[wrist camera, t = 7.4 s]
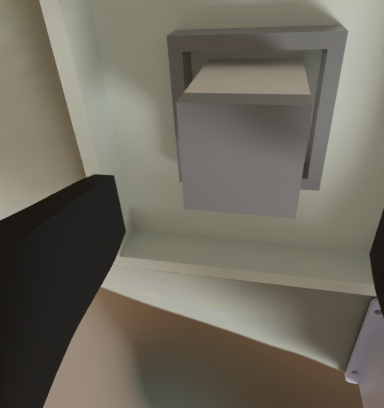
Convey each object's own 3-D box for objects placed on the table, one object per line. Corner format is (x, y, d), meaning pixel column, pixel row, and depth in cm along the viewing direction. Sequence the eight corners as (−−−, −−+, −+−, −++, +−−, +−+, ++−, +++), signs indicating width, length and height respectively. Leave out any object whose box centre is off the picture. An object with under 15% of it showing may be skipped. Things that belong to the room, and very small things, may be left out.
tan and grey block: (291, 145, 17) (295, 218, 12) (210, 141, 18) (184, 208, 13) (302, 58, 14) (313, 105, 10) (209, 58, 15) (175, 102, 10)
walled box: (384, 258, 20) (398, 299, 18) (127, 233, 23) (109, 264, 21) (548, -203, 10) (635, -256, 7) (50, -132, 13) (-2, -153, 11)
